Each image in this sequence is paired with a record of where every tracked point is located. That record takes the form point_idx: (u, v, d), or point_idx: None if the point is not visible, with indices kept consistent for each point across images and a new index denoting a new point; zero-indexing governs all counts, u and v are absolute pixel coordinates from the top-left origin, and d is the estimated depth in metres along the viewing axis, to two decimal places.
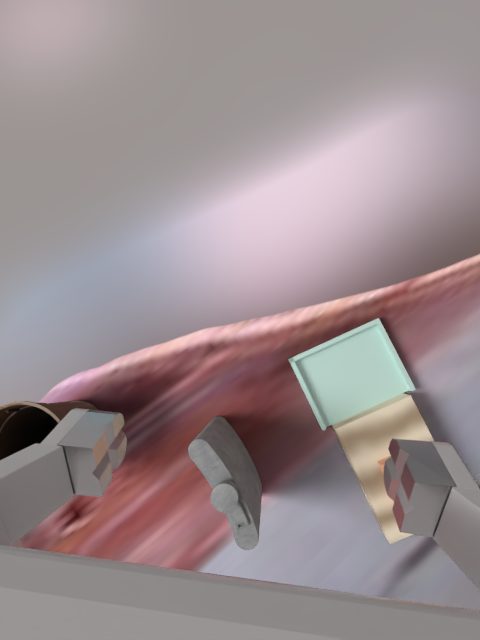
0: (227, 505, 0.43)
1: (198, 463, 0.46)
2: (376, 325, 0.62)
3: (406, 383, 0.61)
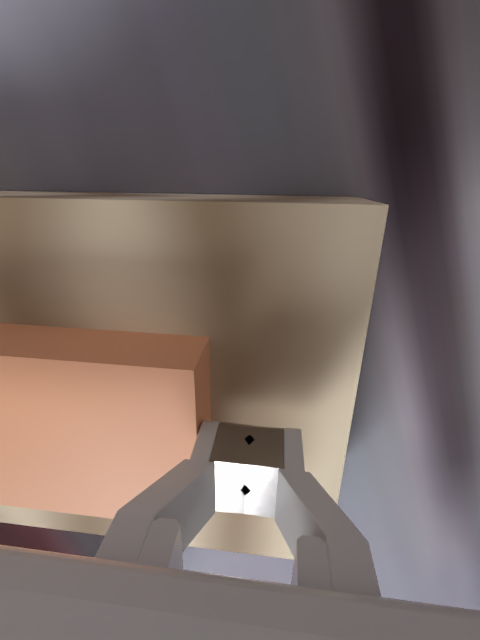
0: None
1: None
2: None
3: None
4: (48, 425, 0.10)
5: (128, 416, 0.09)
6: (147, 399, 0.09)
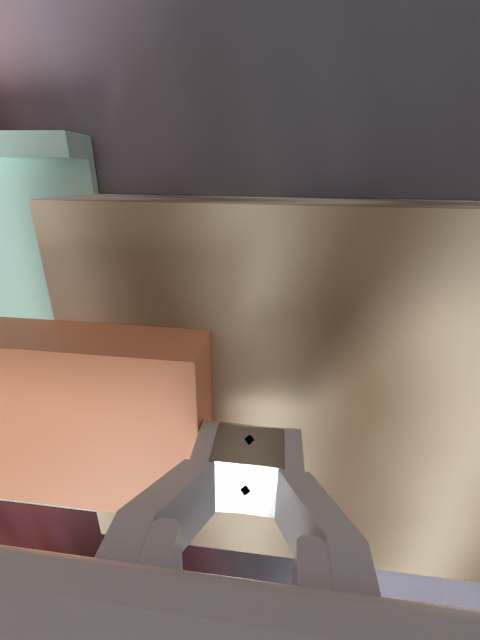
0: None
1: None
2: None
3: None
4: (48, 418, 0.10)
5: (129, 408, 0.09)
6: (148, 391, 0.09)
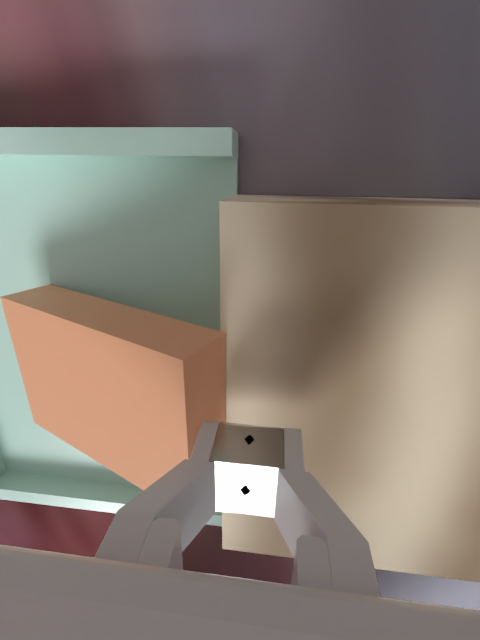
0: None
1: None
2: None
3: (193, 156, 0.11)
4: (85, 382, 0.12)
5: (136, 390, 0.10)
6: (148, 379, 0.10)
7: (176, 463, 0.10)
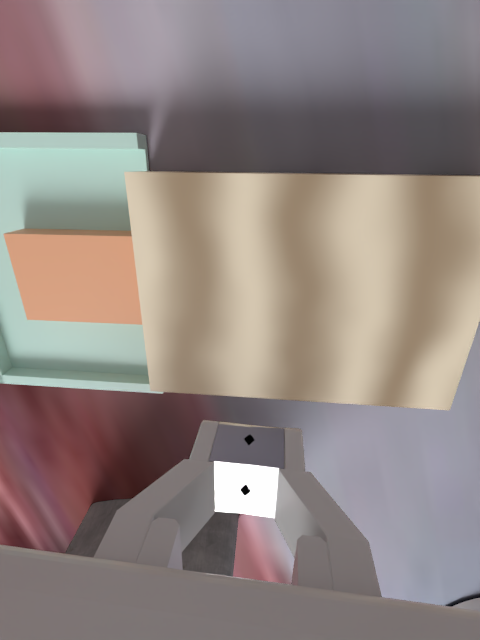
0: None
1: None
2: None
3: None
4: (78, 270, 0.22)
5: (114, 262, 0.22)
6: (122, 252, 0.21)
7: None
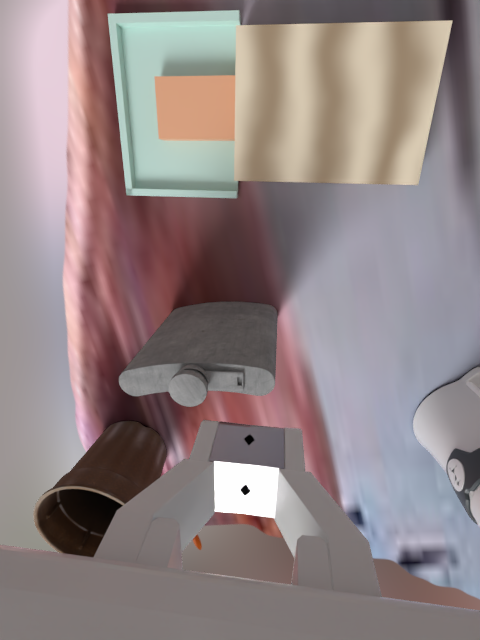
0: (197, 391, 0.31)
1: (148, 391, 0.35)
2: (120, 25, 0.36)
3: (226, 22, 0.35)
4: (195, 100, 0.37)
5: (218, 93, 0.37)
6: (224, 86, 0.36)
7: (231, 116, 0.37)
